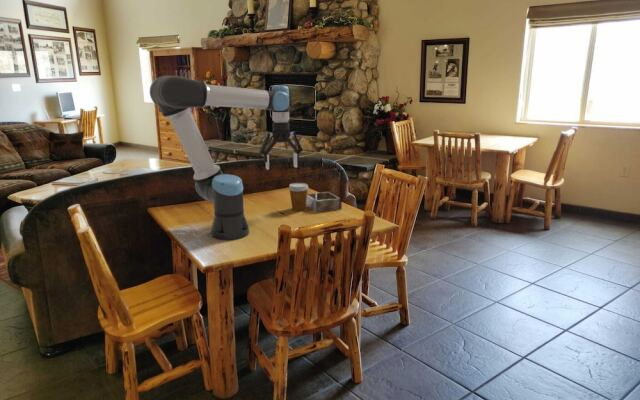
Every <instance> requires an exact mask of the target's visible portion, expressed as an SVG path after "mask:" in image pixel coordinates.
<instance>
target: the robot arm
mask: <svg viewBox="0 0 640 400" xmlns="http://www.w3.org/2000/svg"><path fill="white" fill-rule="evenodd" d="M149 96H150V97H149V98H150V99H151V101H152V102H153V103H154V104H155V105H156V106H158V109H159V110H160V113H161V114H162V117H163V118H166V119H168V120H169V122H170V124H171V126H172V128H173V130H174V132H175V135H176V136H177V139H178V141H179V143H180V145H181V146H182V149H183V151H184V152H185V155H186V157H187V159H188V162H189V163H190V165H191V167H192V169H193V171H194V175H193V181H194V183H195V185H194V187H195V191H196V193H198V195H199V196H200V197H201V198H202V199H203V200H204V201H205V200H206V201H208V202H210V203H212V204H213V210H214V214H213V215H214V216H213V221H212V224H211V228H210V234H211V237H212V238H214V239H218V240H225V241H227V240H228V241H229V240H237V239H241V238H245V237H246V236H248V235H249V234H250V227H249V224H248V221H247V219H246V216H245V208H244V184H243V181H242V178H240V177H239V176H237V175H234V174H230V173H229V174H227V173H223V171H222V169H221V167H220V165H217V164H215V162H214V160H213V158H212V155H211V154H210V151H209V149H208V147H207V145H206V143H205V141H204V138H203V135H202V134H201V131H200V129H199V128H198V125H197V122H196V120H195V118H194V116H193V114H192V112H191V109H192V108H193V109H194V108H196V109H199V108H200V109H203V108H205V107H206V106H209V107H210V106H212V107H222V108H223V107H226V108H240V109H250V110H265V111H271V112H272V115H271V116H272V118H271V119H272V121H273V122H272V133H271V132H266V133H265V138H264V140H263V142H262V144H261V147H260V149H259V151H258V153H259V154H260V155H263V157H262V158H263V162H264V163H265V170H267V171H269V170H270V155H269V153H270V151H271V150H272V149H273V148H274V146H276V144H277V143H279V144H280V143H287V144H288V145H289V146H290V147H291V149H292V151H294V152H293V167H294V168H298V161H299V160H300V153H301V152H303V151H304V149H303V148H302V145H301V143H300V141H299V139H298V136H297V132H296V131H290V91H289V87H288V86H286V85H273V86H272V87H271V90H267V89H266V90H264V89H254V88H245V87H237V86H236V87H235V86H225V85H216V84H207V83H206V82H205V81H203V80H196V79H191V78H187V77H183V76H178V75H163V76H162V75H161V76H159V77H157V78H156V79H154V80H153V81H152V82H151V84H150V87H149ZM290 137H292V140H293V142H294V143H295V144H294V143H293V142H292V140H291V139H290ZM271 138H273V139H272V140H271V142H270V139H271ZM269 142H270V143H269ZM268 144H269V145H268Z"/></svg>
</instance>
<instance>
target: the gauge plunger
mask: <svg viewBox="0 0 640 400" xmlns="http://www.w3.org/2000/svg"><path fill="white" fill-rule="evenodd" d="M314 193H315V199H314V198H312V197H311V196H309V195H307V200H306V208H307V207H308V209H310V210H311V211H313V212H314V211H315V212H317V207H316V200H317V193H318V192H317V191H316V192H314Z"/></svg>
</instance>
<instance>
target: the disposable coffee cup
mask: <svg viewBox="0 0 640 400" xmlns="http://www.w3.org/2000/svg"><path fill="white" fill-rule="evenodd" d="M308 185H309V184H307V183H304V182H293V183H290V184H289V187H288V190H289V194H290V195H289V196H290V201H291V208H292V210H293V211H295V212H296V211H297V212H302V211H305V210H306V209H307V206H306V200H307V194H308V190H309V186H308Z"/></svg>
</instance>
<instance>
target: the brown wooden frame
mask: <svg viewBox="0 0 640 400" xmlns="http://www.w3.org/2000/svg"><path fill="white" fill-rule="evenodd" d="M307 195H309V196H311V197H312V198H314V199H315V192H313V193H307ZM342 203H343V200H342V198H341V197H339V196H337V195H335V194H333V193H332V192H330V191H323V192H317V200H316V207H317V211H316V212H317V213H321V212H329V211H338V210H342V209H343V208H342V206H343V205H342Z"/></svg>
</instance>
